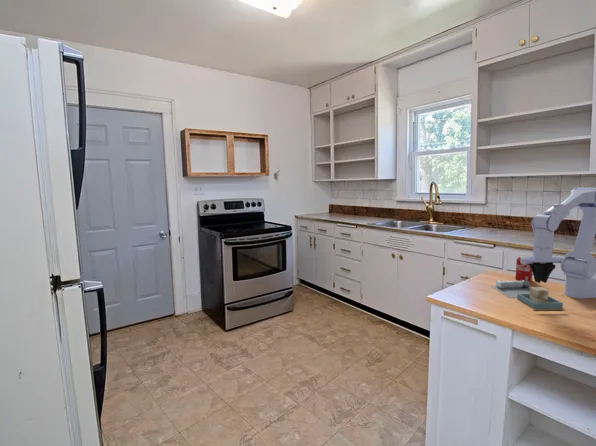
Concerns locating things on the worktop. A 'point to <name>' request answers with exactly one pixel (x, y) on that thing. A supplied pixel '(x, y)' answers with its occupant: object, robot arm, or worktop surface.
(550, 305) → the tray
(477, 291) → the worktop surface
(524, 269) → the beverage can
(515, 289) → the crank board
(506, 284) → the crank lever
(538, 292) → the block
